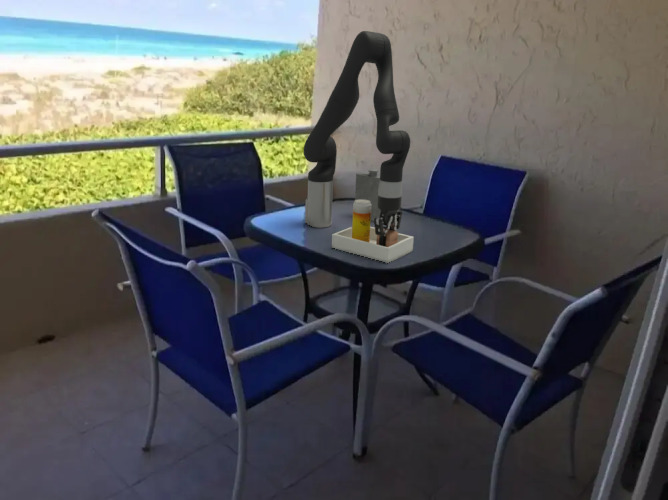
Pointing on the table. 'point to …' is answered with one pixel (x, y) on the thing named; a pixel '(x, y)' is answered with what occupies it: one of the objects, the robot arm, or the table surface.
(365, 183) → the hip flask
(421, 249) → the table surface
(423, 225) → the table surface
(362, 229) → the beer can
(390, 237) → the wooden cube
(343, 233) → the tray
